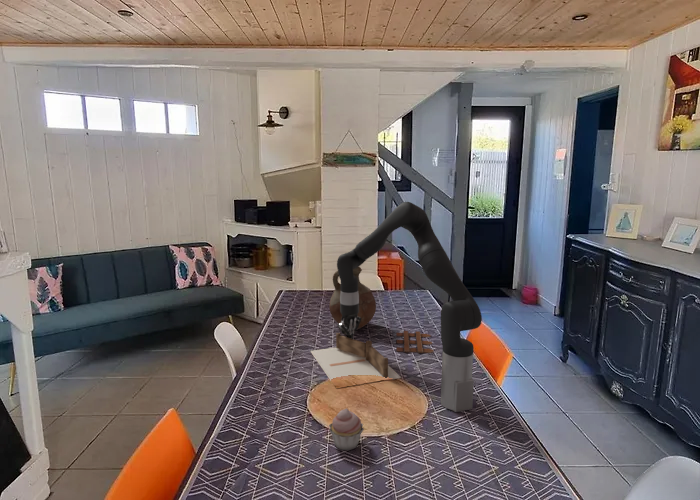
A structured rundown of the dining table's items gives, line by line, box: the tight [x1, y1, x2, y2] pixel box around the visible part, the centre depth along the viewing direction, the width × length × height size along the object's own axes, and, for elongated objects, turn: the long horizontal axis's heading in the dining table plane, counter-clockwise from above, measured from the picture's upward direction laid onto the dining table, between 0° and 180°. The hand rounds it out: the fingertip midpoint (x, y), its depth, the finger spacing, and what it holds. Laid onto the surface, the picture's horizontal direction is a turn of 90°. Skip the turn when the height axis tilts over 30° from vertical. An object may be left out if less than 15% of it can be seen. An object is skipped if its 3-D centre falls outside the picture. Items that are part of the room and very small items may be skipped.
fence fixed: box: [365, 340, 389, 378], centre depth 165 cm, size 18×2×8 cm, turn 20°
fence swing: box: [335, 332, 366, 358], centre depth 178 cm, size 15×2×6 cm, turn 50°
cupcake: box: [328, 407, 365, 451], centre depth 119 cm, size 9×9×10 cm
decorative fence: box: [395, 330, 435, 354], centre depth 191 cm, size 23×2×15 cm
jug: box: [328, 266, 377, 330], centre depth 207 cm, size 22×22×30 cm
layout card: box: [310, 346, 402, 381], centre depth 170 cm, size 34×24×1 cm
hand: (349, 342), depth 182 cm, fingers closed
